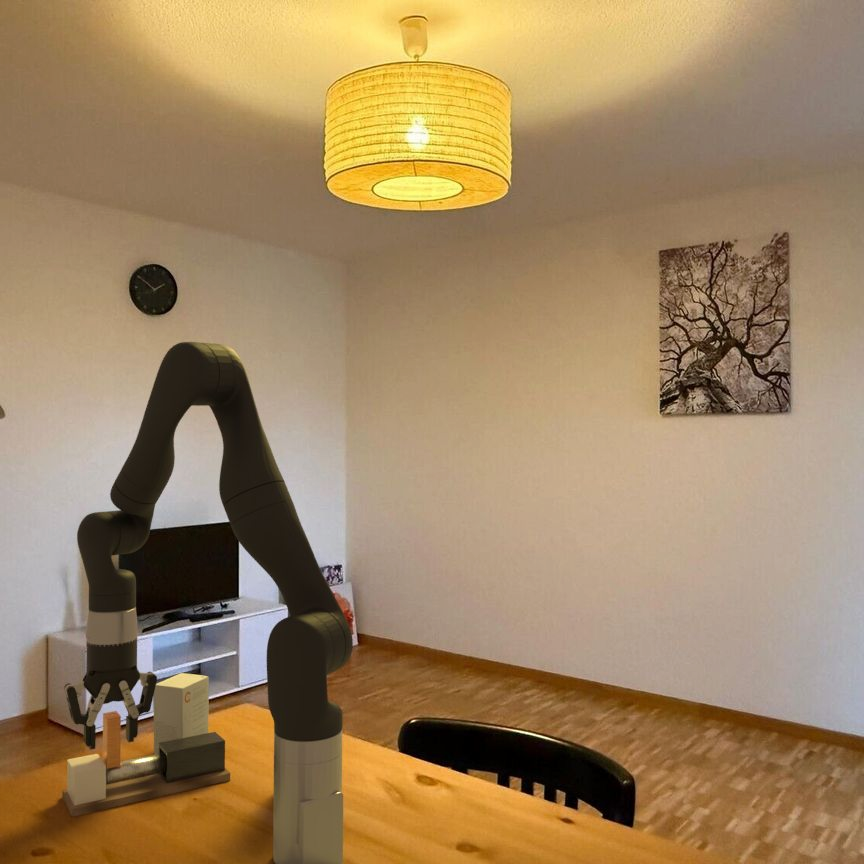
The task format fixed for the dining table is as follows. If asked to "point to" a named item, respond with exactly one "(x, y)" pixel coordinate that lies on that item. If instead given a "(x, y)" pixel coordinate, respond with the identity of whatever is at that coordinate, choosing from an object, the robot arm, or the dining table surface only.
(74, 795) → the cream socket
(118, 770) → the sliding bolt
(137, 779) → the walnut board
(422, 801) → the dining table surface
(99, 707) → the robot arm
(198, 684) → the small box
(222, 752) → the dark hollow rectangular block
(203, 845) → the dining table surface
